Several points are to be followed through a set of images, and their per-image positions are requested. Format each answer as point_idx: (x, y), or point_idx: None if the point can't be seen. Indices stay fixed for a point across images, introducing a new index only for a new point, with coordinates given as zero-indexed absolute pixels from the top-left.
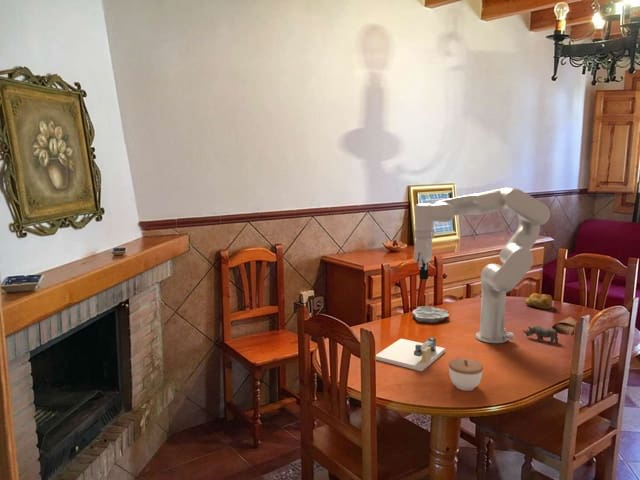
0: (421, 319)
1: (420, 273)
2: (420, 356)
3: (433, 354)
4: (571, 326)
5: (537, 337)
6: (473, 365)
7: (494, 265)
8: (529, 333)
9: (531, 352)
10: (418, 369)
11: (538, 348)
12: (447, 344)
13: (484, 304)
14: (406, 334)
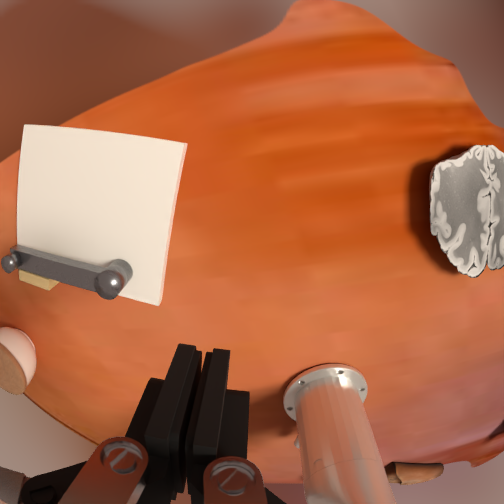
0: (429, 184)
1: (162, 397)
2: (66, 247)
3: None
4: (398, 481)
5: None
6: (3, 381)
7: None
8: None
9: (254, 452)
10: None
11: (284, 459)
12: (229, 299)
13: (319, 467)
14: (279, 144)
